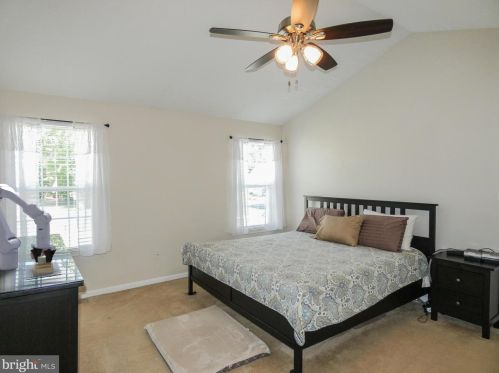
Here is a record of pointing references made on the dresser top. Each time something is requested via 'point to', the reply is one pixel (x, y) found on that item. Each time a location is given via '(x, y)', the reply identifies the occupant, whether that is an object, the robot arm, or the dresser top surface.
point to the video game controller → (41, 255)
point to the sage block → (41, 259)
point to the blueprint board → (30, 274)
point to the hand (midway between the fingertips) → (43, 262)
